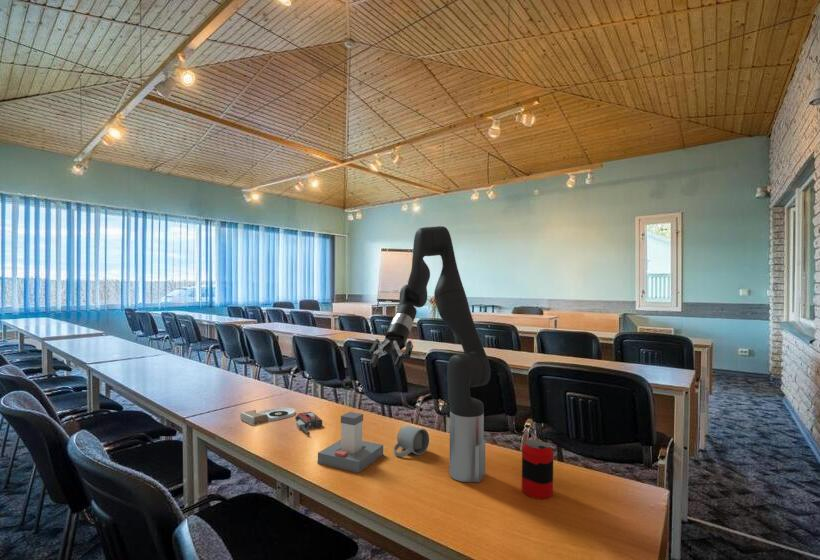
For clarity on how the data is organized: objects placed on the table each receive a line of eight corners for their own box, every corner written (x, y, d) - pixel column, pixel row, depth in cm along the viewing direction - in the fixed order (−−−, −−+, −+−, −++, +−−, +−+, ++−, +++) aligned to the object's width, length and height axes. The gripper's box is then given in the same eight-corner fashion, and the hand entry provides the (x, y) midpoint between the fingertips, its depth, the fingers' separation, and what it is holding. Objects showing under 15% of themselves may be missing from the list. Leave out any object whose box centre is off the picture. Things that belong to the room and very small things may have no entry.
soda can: (532, 501, 100) (533, 451, 100) (516, 486, 107) (516, 440, 107) (559, 497, 102) (559, 448, 102) (541, 483, 109) (541, 437, 110)
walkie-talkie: (289, 421, 158) (305, 438, 140) (290, 410, 158) (305, 425, 141) (312, 418, 162) (330, 434, 145) (312, 406, 162) (330, 421, 145)
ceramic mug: (411, 444, 136) (411, 420, 136) (429, 451, 130) (429, 426, 130) (387, 453, 128) (387, 428, 128) (405, 461, 122) (405, 435, 122)
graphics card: (239, 411, 159) (285, 402, 174) (238, 419, 159) (285, 409, 174) (254, 418, 151) (301, 407, 166) (253, 427, 151) (300, 415, 166)
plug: (362, 457, 124) (363, 413, 125) (353, 463, 120) (354, 418, 120) (349, 454, 126) (349, 411, 127) (340, 460, 122) (340, 416, 122)
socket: (383, 454, 127) (383, 442, 127) (358, 472, 114) (359, 459, 114) (344, 446, 132) (345, 434, 133) (317, 463, 120) (317, 450, 120)
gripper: (378, 321, 146) (361, 358, 135) (415, 322, 140) (400, 361, 129) (385, 335, 151) (369, 372, 140) (421, 336, 145) (407, 375, 134)
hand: (384, 366), depth 134 cm, fingers open, 8 cm apart
